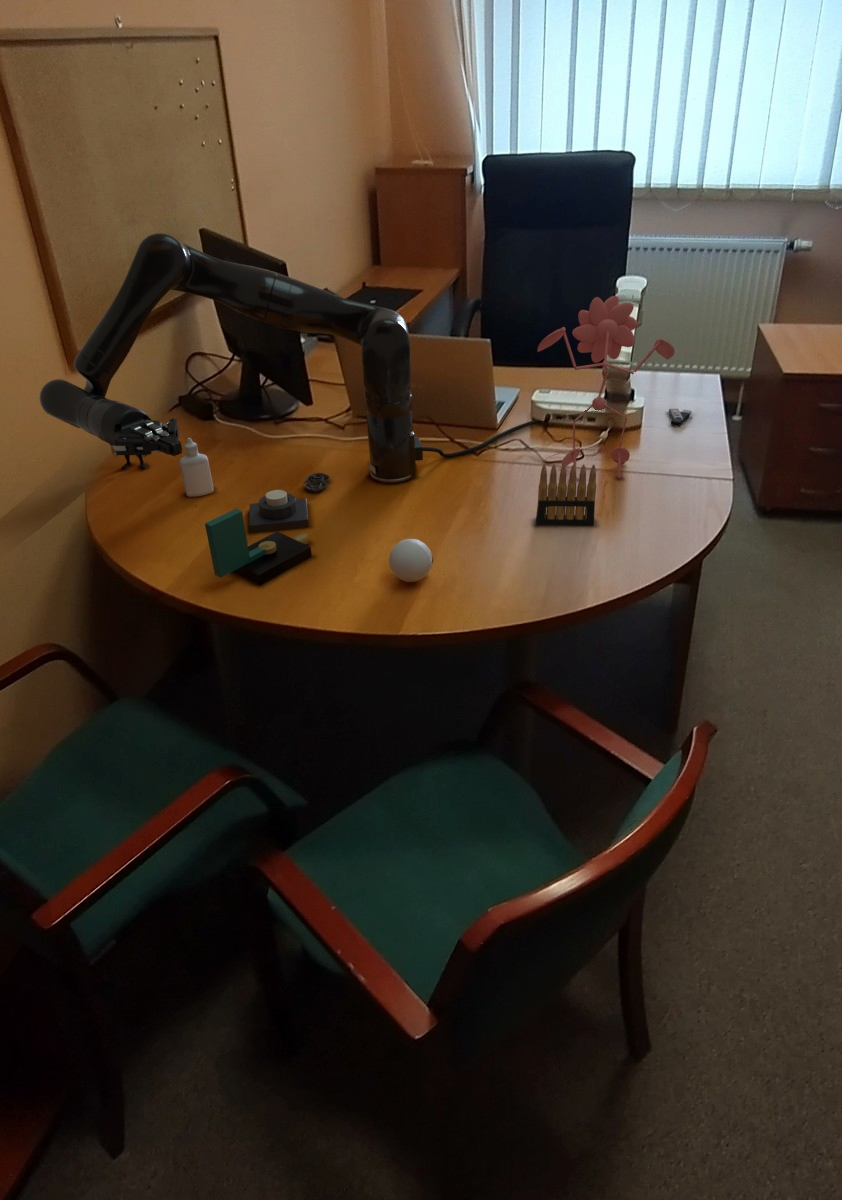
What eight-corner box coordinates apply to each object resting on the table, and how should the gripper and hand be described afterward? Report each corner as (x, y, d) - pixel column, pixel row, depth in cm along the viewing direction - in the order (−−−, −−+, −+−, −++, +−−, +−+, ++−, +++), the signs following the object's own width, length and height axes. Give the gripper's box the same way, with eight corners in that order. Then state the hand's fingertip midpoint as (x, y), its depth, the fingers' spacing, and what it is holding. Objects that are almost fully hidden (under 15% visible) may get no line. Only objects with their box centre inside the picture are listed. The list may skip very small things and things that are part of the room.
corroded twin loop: (302, 494, 171) (302, 489, 171) (307, 476, 178) (306, 472, 177) (327, 493, 171) (327, 488, 170) (330, 476, 178) (330, 471, 177)
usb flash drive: (680, 426, 194) (680, 422, 193) (657, 422, 196) (658, 418, 196) (692, 414, 200) (692, 410, 199) (670, 410, 202) (671, 406, 202)
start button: (287, 496, 163) (286, 488, 162) (288, 506, 159) (286, 498, 158) (266, 498, 162) (265, 490, 161) (266, 508, 159) (265, 500, 158)
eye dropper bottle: (209, 498, 171) (198, 443, 164) (183, 497, 172) (171, 442, 165) (216, 488, 175) (206, 434, 168) (191, 487, 176) (180, 433, 169)
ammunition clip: (536, 525, 158) (539, 466, 151) (535, 520, 159) (538, 462, 153) (593, 525, 157) (599, 466, 150) (593, 520, 159) (598, 462, 152)
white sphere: (436, 588, 141) (435, 550, 137) (392, 592, 140) (390, 554, 136) (428, 557, 149) (427, 521, 145) (386, 561, 149) (384, 525, 145)
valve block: (290, 535, 157) (288, 525, 156) (323, 550, 152) (322, 540, 151) (227, 568, 148) (225, 557, 147) (260, 585, 143) (258, 574, 142)
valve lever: (268, 544, 150) (261, 494, 144) (280, 549, 148) (272, 499, 143) (212, 573, 142) (201, 521, 137) (223, 579, 140) (213, 527, 135)
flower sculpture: (661, 479, 172) (687, 303, 152) (535, 483, 172) (544, 308, 153) (644, 448, 185) (665, 282, 165) (526, 452, 185) (534, 287, 165)
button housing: (307, 505, 167) (304, 487, 165) (309, 527, 160) (306, 508, 158) (251, 511, 166) (248, 493, 164) (250, 533, 159) (247, 514, 156)
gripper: (79, 415, 142) (138, 440, 132) (146, 393, 150) (206, 415, 140) (90, 456, 146) (148, 484, 136) (155, 432, 154) (213, 457, 144)
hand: (177, 449), depth 138 cm, fingers closed
